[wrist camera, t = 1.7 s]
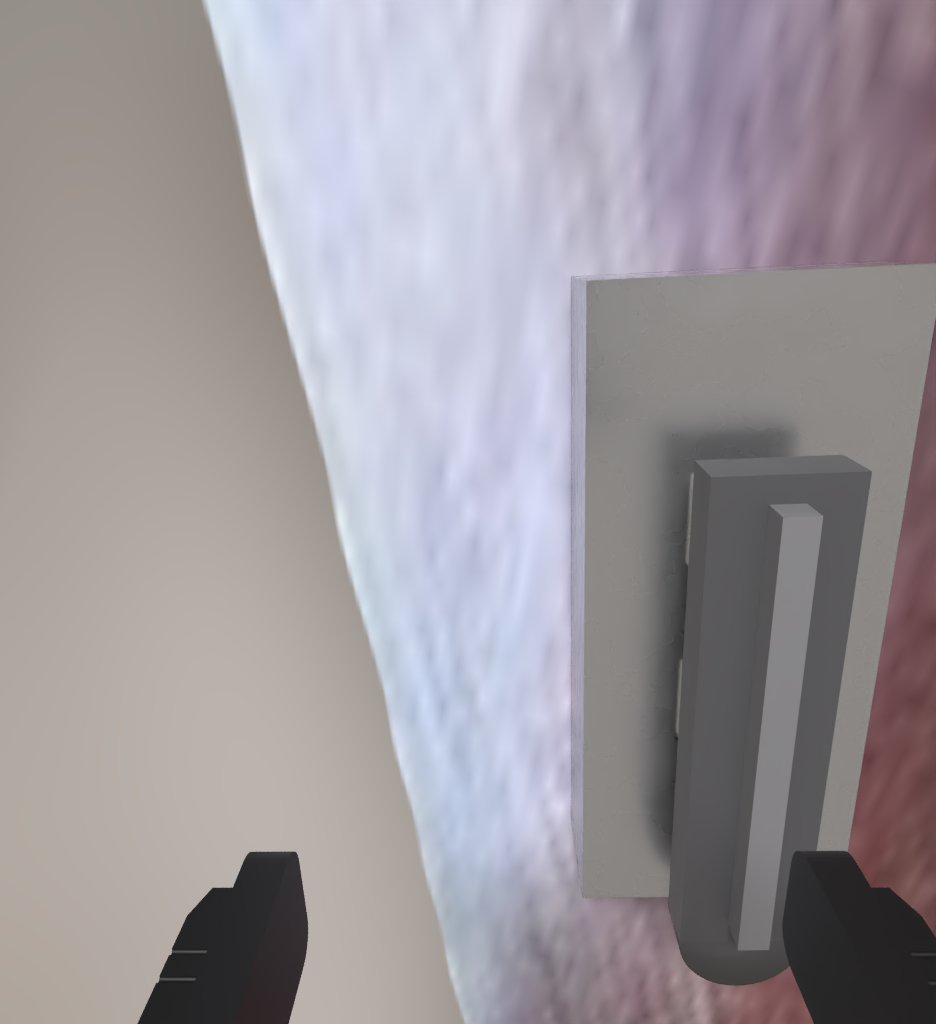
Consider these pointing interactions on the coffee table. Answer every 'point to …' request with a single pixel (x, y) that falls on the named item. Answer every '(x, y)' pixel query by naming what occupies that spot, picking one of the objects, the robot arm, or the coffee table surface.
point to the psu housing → (668, 505)
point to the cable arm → (758, 696)
